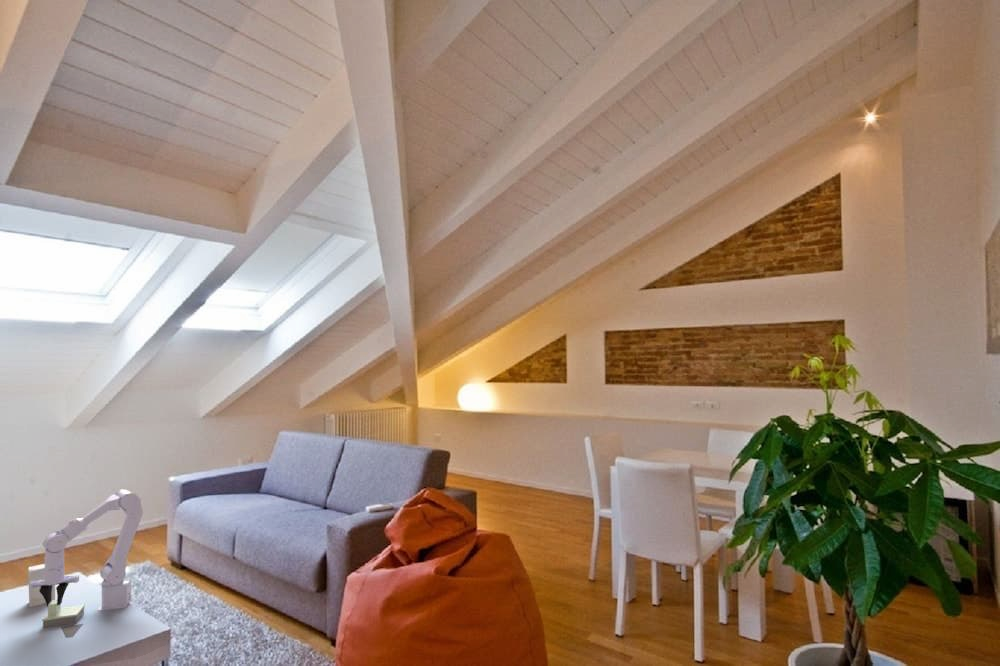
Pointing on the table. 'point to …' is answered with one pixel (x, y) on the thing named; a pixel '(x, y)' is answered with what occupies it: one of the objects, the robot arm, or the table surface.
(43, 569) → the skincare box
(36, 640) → the table surface
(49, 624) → the tub
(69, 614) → the lid
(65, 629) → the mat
